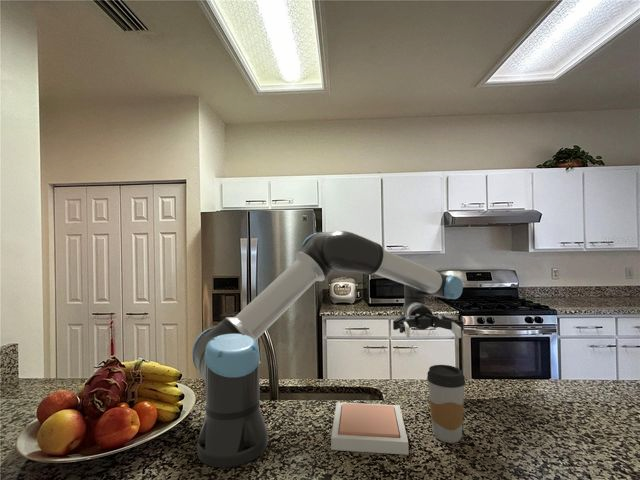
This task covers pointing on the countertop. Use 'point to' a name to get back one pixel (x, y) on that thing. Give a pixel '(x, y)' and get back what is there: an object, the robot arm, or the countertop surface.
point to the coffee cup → (446, 402)
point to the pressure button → (368, 420)
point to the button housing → (369, 437)
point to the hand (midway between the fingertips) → (433, 332)
